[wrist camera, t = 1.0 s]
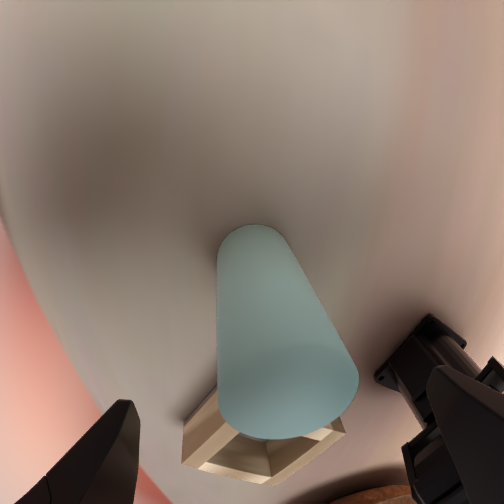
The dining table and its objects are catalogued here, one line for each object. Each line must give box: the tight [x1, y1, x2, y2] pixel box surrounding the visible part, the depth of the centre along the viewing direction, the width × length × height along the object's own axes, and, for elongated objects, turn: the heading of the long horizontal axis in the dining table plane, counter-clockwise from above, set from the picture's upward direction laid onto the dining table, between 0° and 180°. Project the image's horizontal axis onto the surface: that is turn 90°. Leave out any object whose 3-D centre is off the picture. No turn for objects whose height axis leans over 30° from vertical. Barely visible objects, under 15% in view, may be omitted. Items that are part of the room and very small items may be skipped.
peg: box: [217, 224, 359, 439], centre depth 13 cm, size 4×4×10 cm
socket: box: [181, 385, 346, 486], centre depth 20 cm, size 8×8×4 cm
